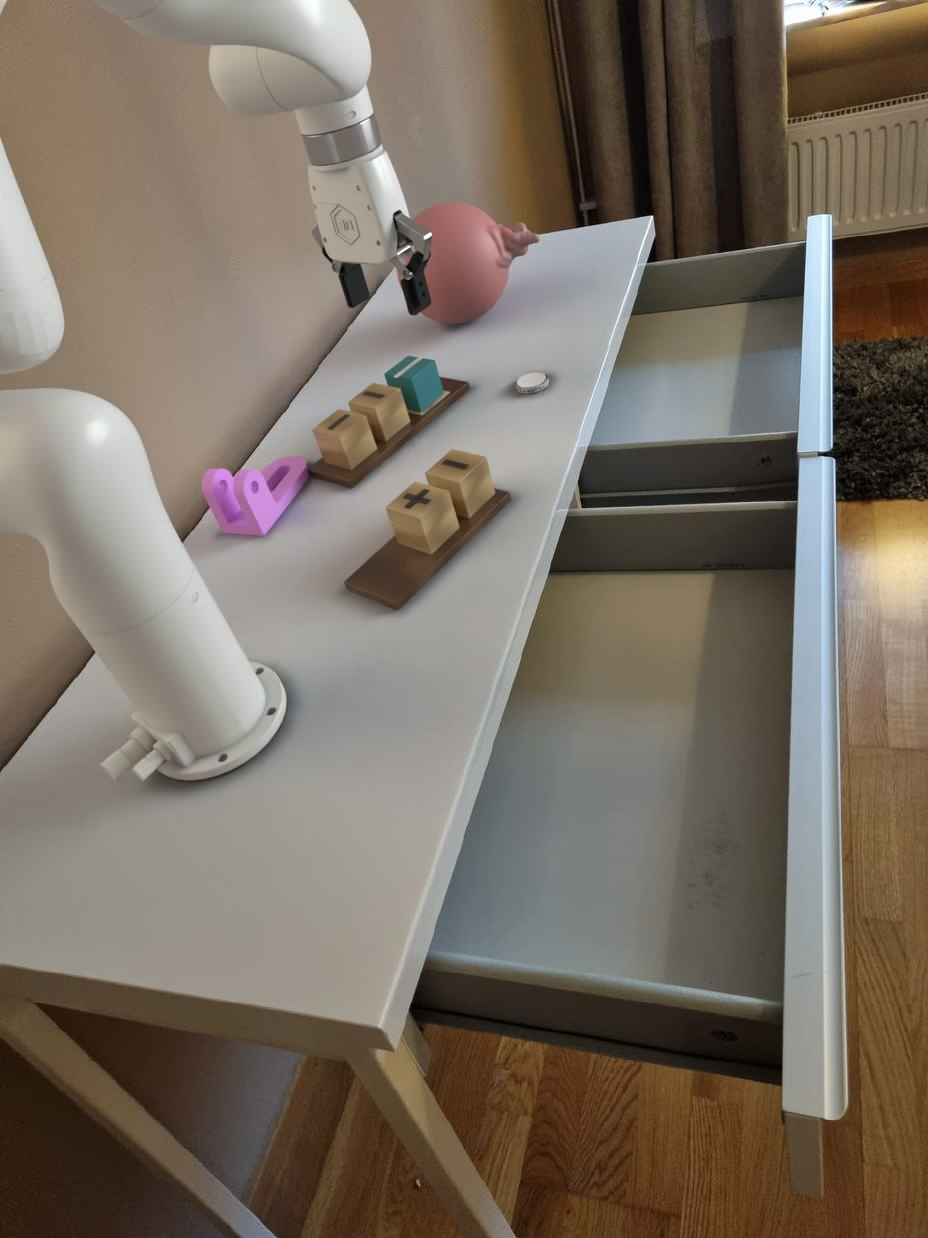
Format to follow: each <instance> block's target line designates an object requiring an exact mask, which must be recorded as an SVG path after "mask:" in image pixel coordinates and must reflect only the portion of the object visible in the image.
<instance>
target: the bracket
mask: <svg viewBox="0 0 928 1238" xmlns="http://www.w3.org/2000/svg"><path fill="white" fill-rule="evenodd" d="M308 468H309V464H308V463H307V460H306V459H305V458H304V457H302V456H299V455H289V456H284V457H281V458H278V459H276V460H274V461H272V462H270V463H269V464H268V465H267V466H265V467H264V468H263V469H262V471H260V470H258V469H248V468H247V469H246V468H243V469H240V470H239V471H237V472H236V474H235V476H234V477H233V475H232V473H231V472H230V470H228V469H226V468H209V469H207V470H206V471H205V472H204V474H203V476H202V478H201V491H202V495H203V497H204V499H205V502H206V503H207V505H208V507H209V508H210V510H211V513H212V515H213V516H214V519H215V520H216V522H217V524H218V527H219V528H220V530H221V532H222V534H227V535H243V536H244V535H245V536H261V537H265V536H266V534H267V533H268V531H269V530H270V529H271V528H272V527H273V526H274V524H275V523H276V522H277V520H278V519H279V518H280V516H281V515H282V514H283V513H284V511H285V510H286V509H287V507H288V506H289V505H290V504H291V502H292V501H293V500H294V499H295V497H296V496H297V495H298V494H299V492H300V491H301V489H302V488H303V487H304V486H305V484H306V483H307V482H308V480H309V479H310V477H311V476H310V474H309V472H308Z"/></svg>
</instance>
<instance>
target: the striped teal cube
mask: <svg viewBox="0 0 928 1238" xmlns="http://www.w3.org/2000/svg"><path fill="white" fill-rule="evenodd" d="M425 357H426V355H424V354H421V355H419V356H412V355H407V356H405V357H404V358H402V359H401V360H400V361H399V362H397V363H396V364H395V365H394V366H392V367H391V368H390V369H388V370H387V371H386V372H385V373H384V374H383V375H384V378H385V381H386V384H387V386H392V387H397V388H400V389H401V392H402V396H403V399H404V402H405V405H406V409H409V410H413V411H418V412H422V411H423V410H424V409H425V408H427V407H428V406H429V405H430V404H431V403H433V402H434V401H435V400H436V399H438V398H439V397H440V396H441V395H442V394H444V392H443V388H442V384H441V381H440V377H441V376H440V374H439V369H438V365H437V362H436V360H435V359H430V358H425Z"/></svg>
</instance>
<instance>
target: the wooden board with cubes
mask: <svg viewBox="0 0 928 1238" xmlns="http://www.w3.org/2000/svg"><path fill="white" fill-rule="evenodd" d="M424 473H425V477H426V481H427V484H425V483H422V482H419V481H414V482H412V483H411V484H410V485H409V486H408V487H407V488H405V490H404V491H402V492H401V493H400V494H399V495H398V496H396V498H393V500H392V501H391V502H390V503H388V504H387V505H386V506H385V511H386V513H387V516H388V519H389V522H390V525H391V528H392V531H393V533H394V535H393V536H392V537H391V538H390V539H389V540H388V541H387V542H386V543H385V544H384V545H383V546H381V547H380V548H379V549H378V550H377V551H376V552H375V553H374V554H373V555H372V556H371V557H369V558H368V559H367V560H366V561H365V562H364V563H363V564H362V565H360V567H359V568H357V569H356V570H355V571H354V572H352V574H351V575H349V577H347V578H346V579H345V580H344V581H343V585H344V586H345V588H346V590H347V591H350V592H352V593H355V594H357V595H359V596H362V597H365V598H367V599H370V600H372V601H374V602H377V603H380V604H382V605H384V606H387V607H390V608H392V609H395V610H396V611H399V610H400V609H401V608H402V607H403V606H404V605H405V604H406V603H407V602H408V601H409V600H410V599H412V597H414V596H415V595H416V594H417V593H418V591H420V590H421V589H422V588H423V587H424V586H425V585H426V584H427V583H428V582H429V581H430V580H431V579H432V578H433V577H434V576H435V575H436V574H437V573H438V572H439V571H441V569H442V568H444V566H446V564H448V562H450V561H451V560H452V559H453V558H454V556H455V555H457V554H458V553H459V552H460V551H461V550H462V549H463V548H464V547H465V546H466V545H467V544H468V543H469V542H470V541H471V540H472V539H473V538H474V537H475V536H476V535H478V533H479V532H480V531H481V530H482V529H483V528H484V527H486V526H487V524H488V523H489V522H490V521H491V520H493V519H494V518H495V517H496V516H497V515H498V514H499V513H500V512H501V511H502V510H503V509H504V508H505V507H506V506H507V505H508V504H509V503H510V502H511V501H512V496H511V492H510V491H507V490H503V489H498V488H495V486H494V482H493V478H492V473H491V470H490V466H489V461H488V458H487V456H484V455H481V454H480V455H479V454H477V453H476V454H475V453H471V452H467V451H464V450H459V449H455V448H451V450H449V451H448V452H447V453H446V454H444V455H443V457H441V458H440V459H439V460H438V461H437V462H435V463H434V464H433V465H432V466H431V467H430V468H429V469H428V470H426V471H424Z"/></svg>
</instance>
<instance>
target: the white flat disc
mask: <svg viewBox="0 0 928 1238" xmlns="http://www.w3.org/2000/svg"><path fill="white" fill-rule="evenodd" d="M549 383H550V381H549V376H548V374H547V373H545V372H543V371H531V372H527V373H524V374H522V375H520V376H519V377H518V378H517V379H516V380H515V382H514V385H515V389H516V391H517V392H519V393H520V394H521V393H522V394H533V393H537V392H540V391H542V390H543V389H545V388H547V386H548V385H549Z"/></svg>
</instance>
